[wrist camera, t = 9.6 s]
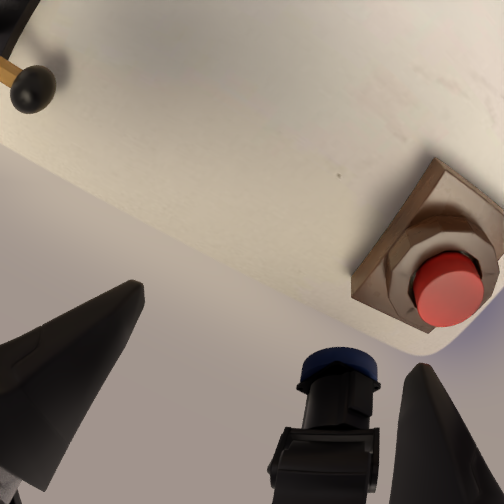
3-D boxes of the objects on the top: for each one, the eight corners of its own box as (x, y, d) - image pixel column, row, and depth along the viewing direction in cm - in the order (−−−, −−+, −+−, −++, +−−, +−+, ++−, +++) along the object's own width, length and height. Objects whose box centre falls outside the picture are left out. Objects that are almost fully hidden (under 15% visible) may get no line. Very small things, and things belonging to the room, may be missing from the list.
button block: (424, 313, 22) (431, 353, 19) (350, 276, 22) (350, 318, 18) (508, 214, 16) (534, 247, 13) (434, 156, 16) (456, 182, 12)
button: (445, 314, 17) (450, 335, 16) (399, 290, 17) (402, 311, 16) (487, 270, 15) (497, 289, 13) (441, 239, 15) (450, 258, 13)
